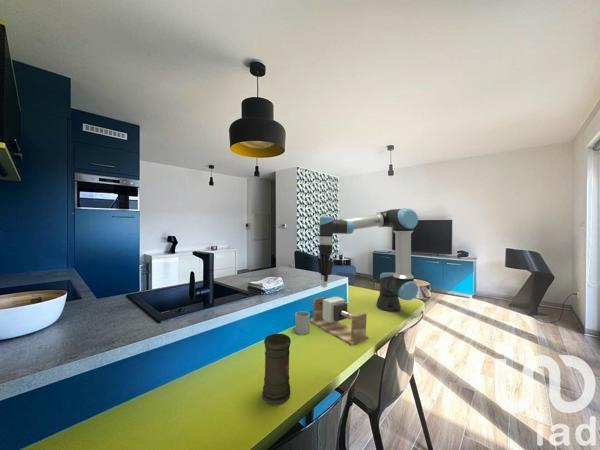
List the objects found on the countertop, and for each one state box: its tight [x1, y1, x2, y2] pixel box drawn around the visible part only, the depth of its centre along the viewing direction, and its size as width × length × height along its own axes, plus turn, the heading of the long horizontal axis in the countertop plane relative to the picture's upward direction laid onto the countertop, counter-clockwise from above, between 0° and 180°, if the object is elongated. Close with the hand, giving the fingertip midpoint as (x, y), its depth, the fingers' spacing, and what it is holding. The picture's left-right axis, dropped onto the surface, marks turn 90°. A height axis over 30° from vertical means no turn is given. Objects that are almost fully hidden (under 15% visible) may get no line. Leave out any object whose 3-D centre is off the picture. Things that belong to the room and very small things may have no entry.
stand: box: [310, 296, 369, 346], centre depth 125 cm, size 30×12×12 cm, turn 36°
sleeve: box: [323, 296, 346, 323], centre depth 127 cm, size 6×10×10 cm, turn 126°
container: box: [262, 333, 292, 406], centre depth 77 cm, size 9×9×18 cm
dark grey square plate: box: [334, 302, 348, 322], centre depth 123 cm, size 2×8×8 cm, turn 126°
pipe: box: [320, 301, 354, 321], centre depth 125 cm, size 28×3×3 cm, turn 36°
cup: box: [294, 310, 311, 335], centre depth 124 cm, size 7×10×9 cm
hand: (324, 286), depth 133 cm, fingers closed
